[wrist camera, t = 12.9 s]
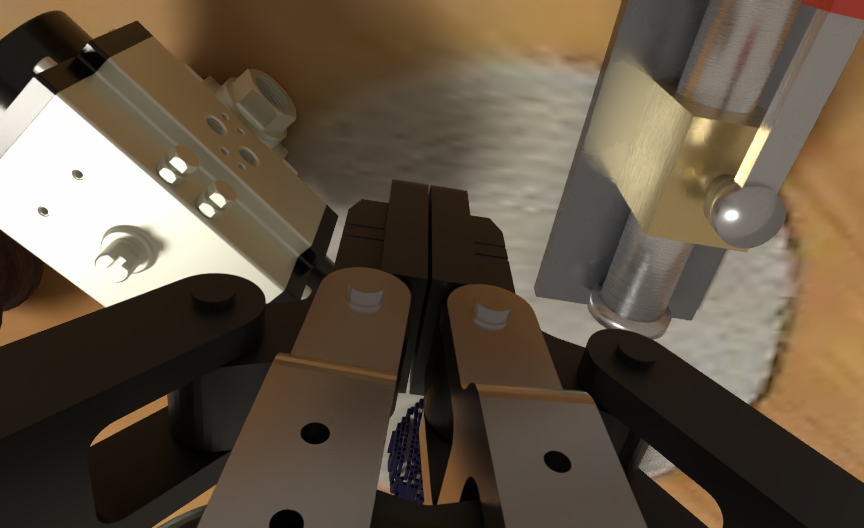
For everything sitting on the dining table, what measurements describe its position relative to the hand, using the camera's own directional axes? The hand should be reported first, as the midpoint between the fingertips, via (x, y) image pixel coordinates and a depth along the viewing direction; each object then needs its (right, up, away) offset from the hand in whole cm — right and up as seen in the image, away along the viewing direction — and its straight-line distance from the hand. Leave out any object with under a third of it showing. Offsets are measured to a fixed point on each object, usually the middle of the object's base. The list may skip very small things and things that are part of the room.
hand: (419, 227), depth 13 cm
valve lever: (+17, +8, +17) cm, 25 cm away
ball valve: (-12, +9, +28) cm, 32 cm away
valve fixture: (+16, +8, +28) cm, 33 cm away
